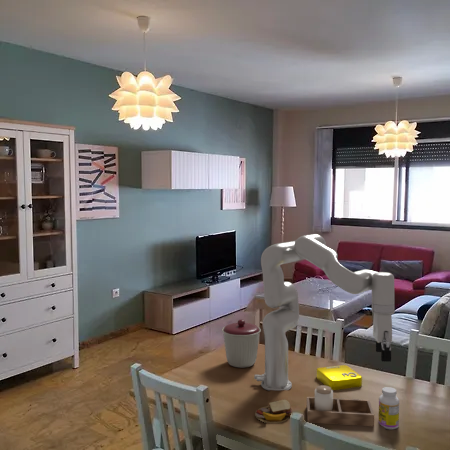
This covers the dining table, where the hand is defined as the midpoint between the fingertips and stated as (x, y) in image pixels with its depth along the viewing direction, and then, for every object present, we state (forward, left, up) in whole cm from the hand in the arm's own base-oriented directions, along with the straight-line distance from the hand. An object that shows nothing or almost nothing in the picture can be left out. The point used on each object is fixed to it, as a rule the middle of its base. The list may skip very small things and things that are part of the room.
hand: (383, 356), depth 169 cm
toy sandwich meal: (-38, -1, -24) cm, 45 cm away
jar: (-20, 0, -22) cm, 30 cm away
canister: (-55, +48, -24) cm, 77 cm away
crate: (-15, 0, -23) cm, 28 cm away
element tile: (-12, +33, -24) cm, 42 cm away
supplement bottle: (+2, -3, -24) cm, 24 cm away
